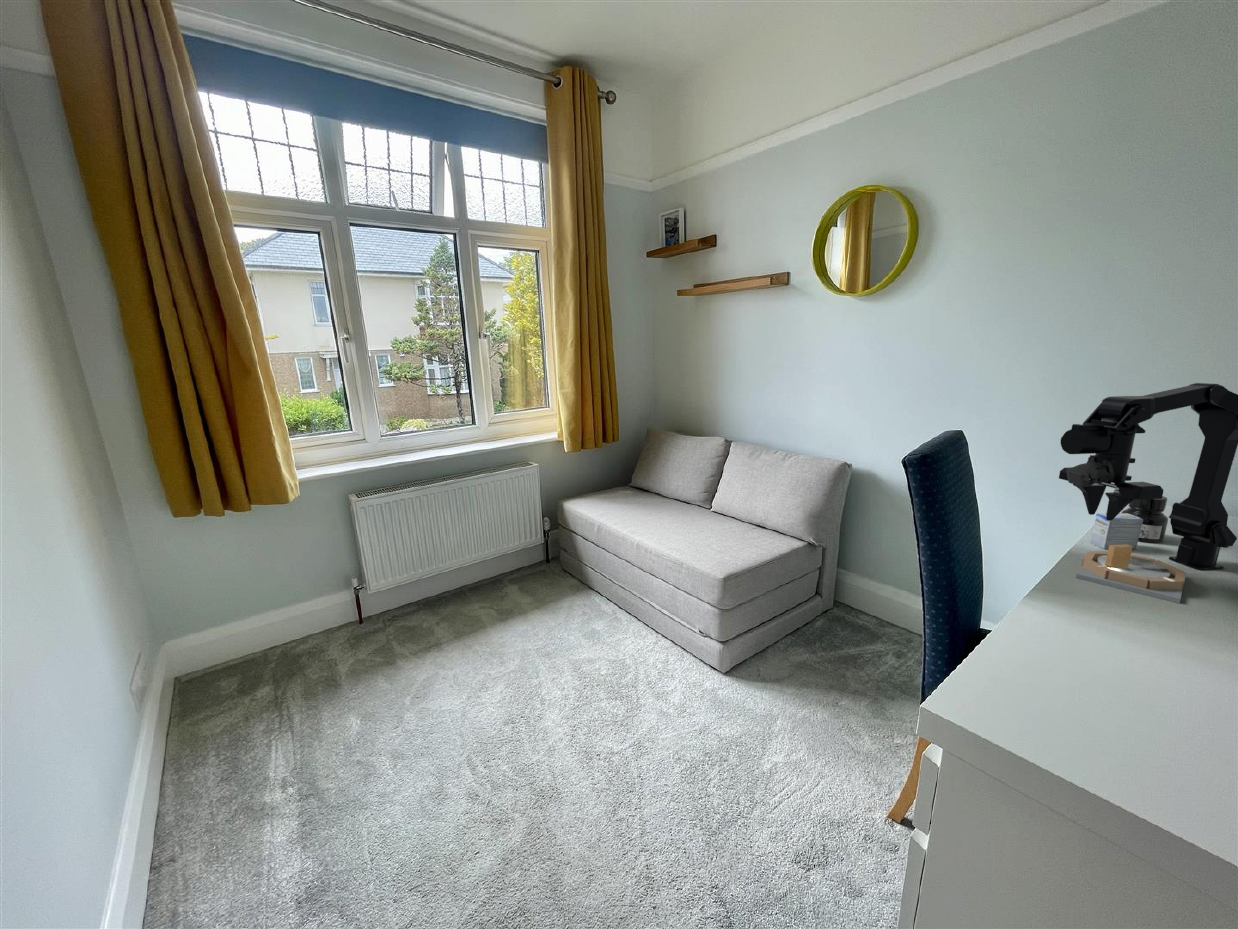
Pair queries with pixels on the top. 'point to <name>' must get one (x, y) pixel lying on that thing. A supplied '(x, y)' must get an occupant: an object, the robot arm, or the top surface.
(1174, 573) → the dial plate
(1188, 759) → the top surface
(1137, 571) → the dial
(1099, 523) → the medicine box
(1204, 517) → the robot arm
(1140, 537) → the ink bottle
